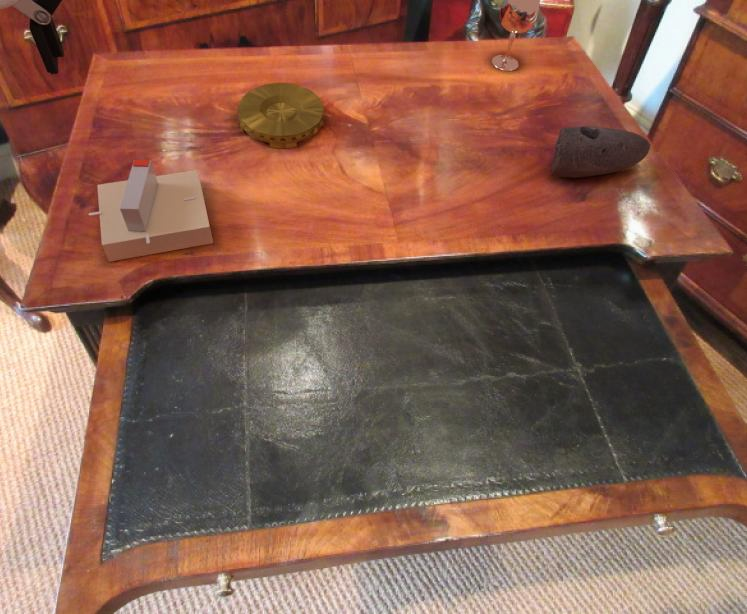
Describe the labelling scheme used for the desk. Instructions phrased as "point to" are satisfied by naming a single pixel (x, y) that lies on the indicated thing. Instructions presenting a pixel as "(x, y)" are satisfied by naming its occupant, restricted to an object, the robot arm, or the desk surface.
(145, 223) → the grey rectangular block
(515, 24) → the wineglass
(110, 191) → the tap plate
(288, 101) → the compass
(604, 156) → the perforated stone tool
